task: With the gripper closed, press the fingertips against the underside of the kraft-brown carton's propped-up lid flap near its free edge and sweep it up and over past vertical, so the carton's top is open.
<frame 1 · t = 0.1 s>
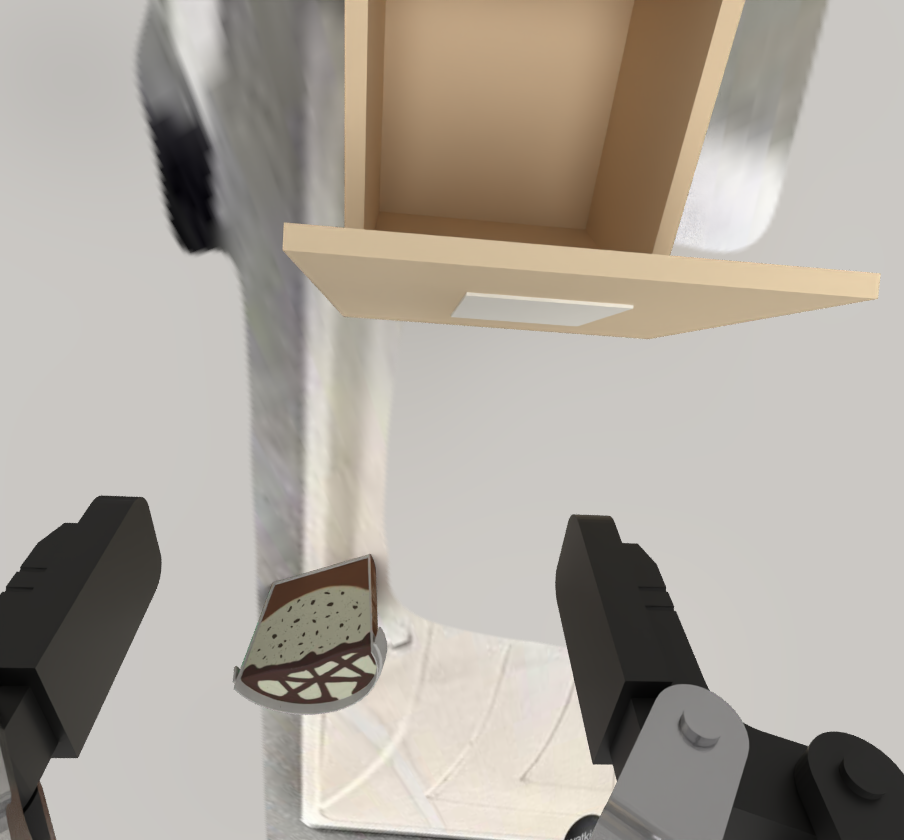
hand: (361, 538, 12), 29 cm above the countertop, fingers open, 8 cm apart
carton: (496, 103, 34), on the countertop
lid flap: (530, 303, 21), point 18 cm above the countertop, hinge at 60.0°
food container: (336, 589, 55), on the countertop
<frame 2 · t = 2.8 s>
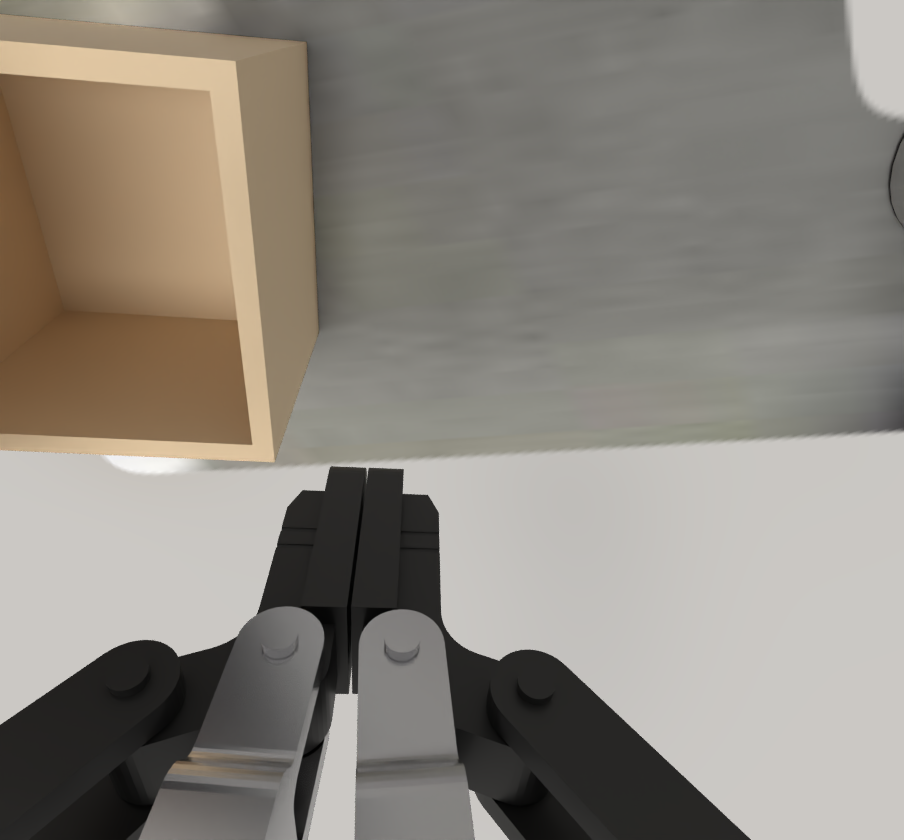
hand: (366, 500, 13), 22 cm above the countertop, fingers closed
carton: (169, 194, 31), on the countertop
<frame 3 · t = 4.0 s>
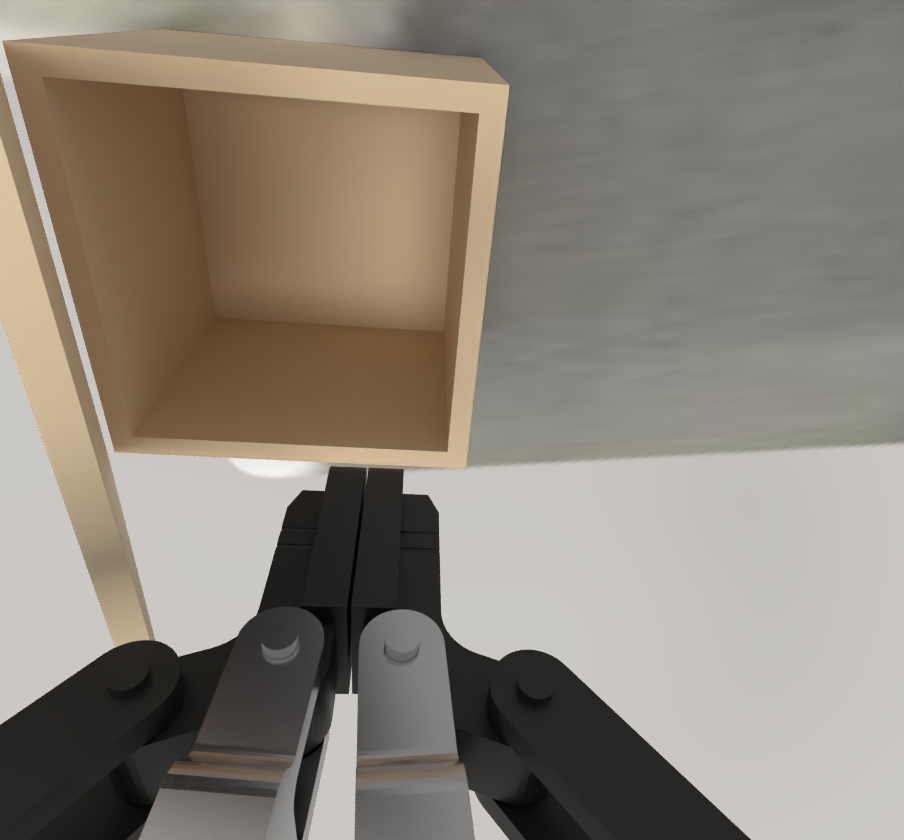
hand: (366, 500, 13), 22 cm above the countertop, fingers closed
carton: (329, 205, 31), on the countertop
lid flap: (67, 382, 16), point 18 cm above the countertop, hinge at 60.0°
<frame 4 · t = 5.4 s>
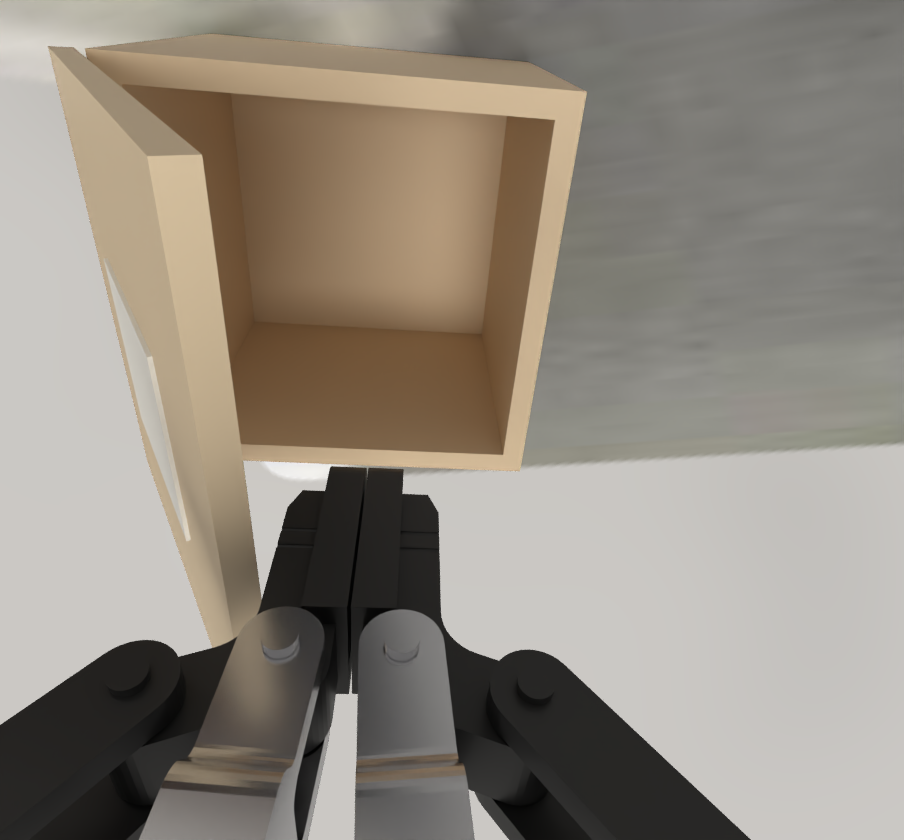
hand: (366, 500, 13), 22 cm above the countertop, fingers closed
carton: (371, 209, 31), on the countertop
lid flap: (158, 390, 16), point 18 cm above the countertop, hinge at 60.2°, touching gripper
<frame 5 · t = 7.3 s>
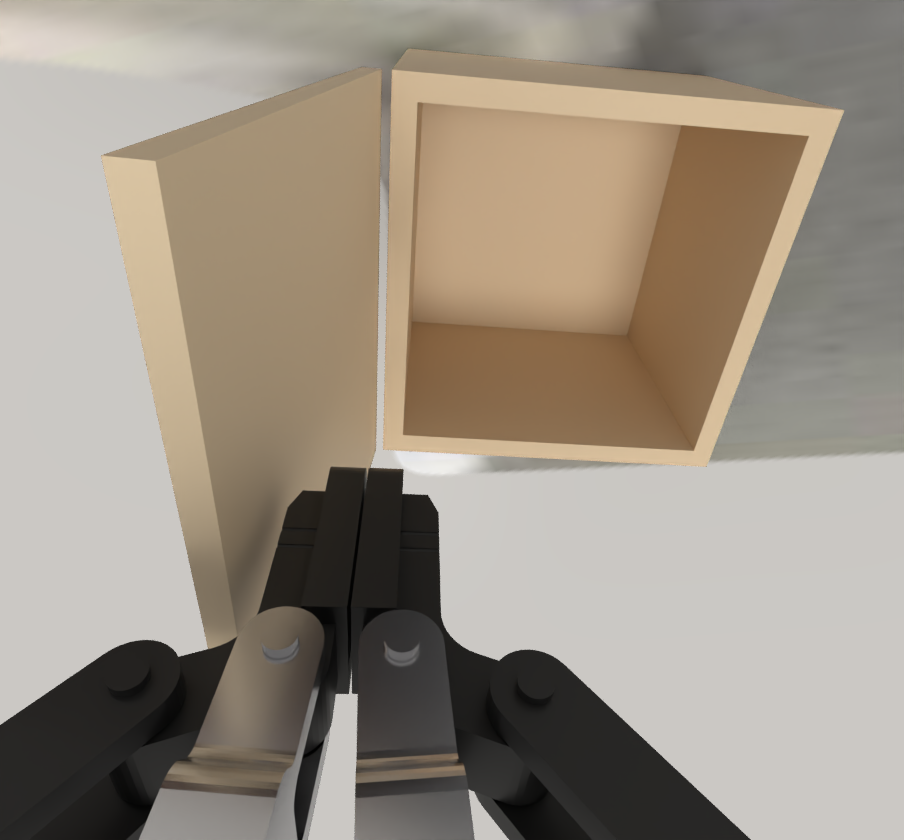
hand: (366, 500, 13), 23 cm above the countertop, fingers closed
carton: (535, 214, 33), on the countertop
lid flap: (317, 389, 16), point 19 cm above the countertop, hinge at 95.7°, touching gripper
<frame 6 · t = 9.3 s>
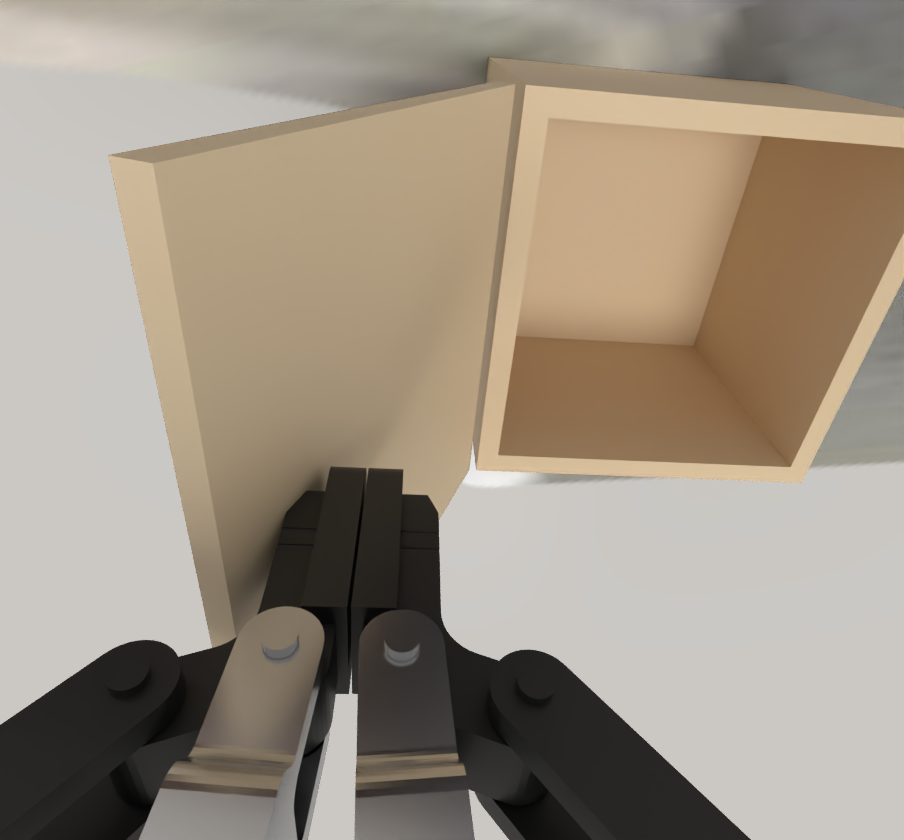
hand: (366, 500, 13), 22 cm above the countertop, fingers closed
carton: (607, 225, 32), on the countertop
lid flap: (391, 403, 16), point 18 cm above the countertop, hinge at 113.2°, touching gripper
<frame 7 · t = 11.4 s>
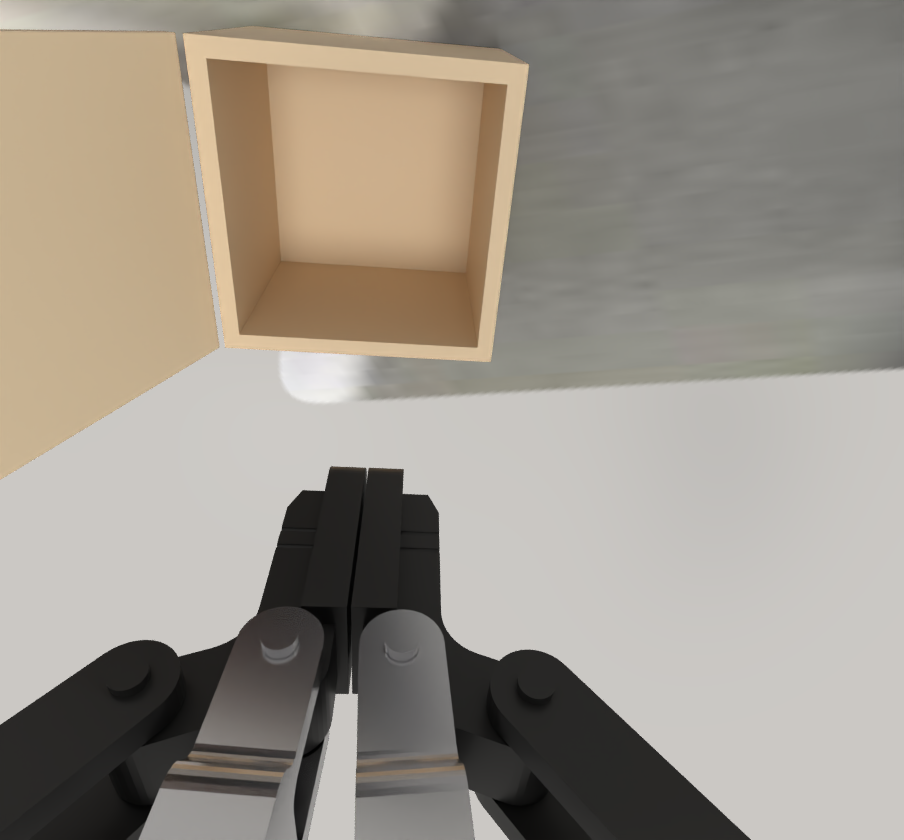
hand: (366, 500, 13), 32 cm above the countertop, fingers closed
carton: (376, 167, 39), on the countertop
lid flap: (64, 251, 23), point 18 cm above the countertop, hinge at 113.2°
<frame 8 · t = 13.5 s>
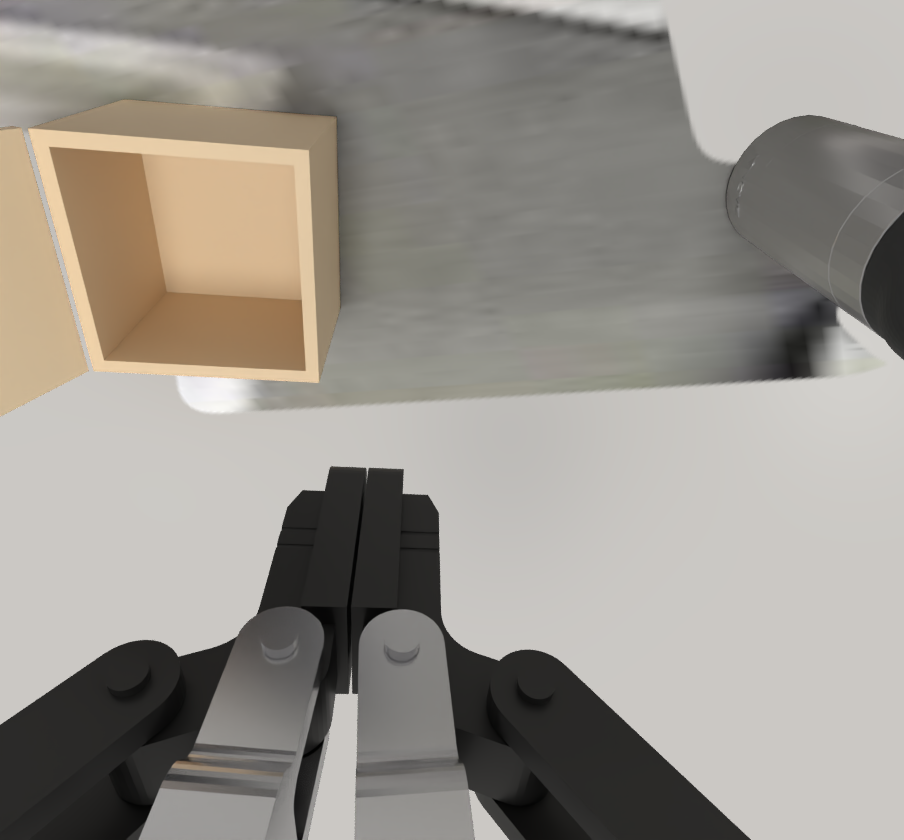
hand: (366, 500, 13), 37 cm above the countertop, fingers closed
carton: (242, 213, 46), on the countertop
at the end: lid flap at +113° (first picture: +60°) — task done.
